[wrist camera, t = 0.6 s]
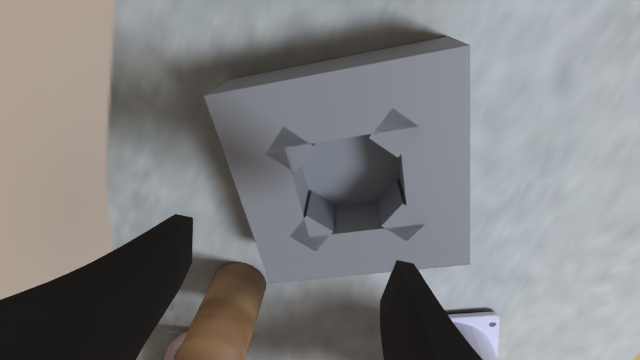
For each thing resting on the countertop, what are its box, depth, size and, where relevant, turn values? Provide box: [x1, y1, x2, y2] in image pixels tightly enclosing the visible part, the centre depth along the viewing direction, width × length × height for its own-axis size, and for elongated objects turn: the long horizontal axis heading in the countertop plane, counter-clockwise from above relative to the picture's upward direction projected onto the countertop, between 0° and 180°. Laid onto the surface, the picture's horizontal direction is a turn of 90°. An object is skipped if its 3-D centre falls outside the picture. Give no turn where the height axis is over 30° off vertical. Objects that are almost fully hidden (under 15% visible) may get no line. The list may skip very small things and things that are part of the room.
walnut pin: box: [175, 262, 266, 360], centre depth 24 cm, size 4×4×7 cm
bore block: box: [204, 36, 470, 283], centre depth 20 cm, size 12×12×4 cm
